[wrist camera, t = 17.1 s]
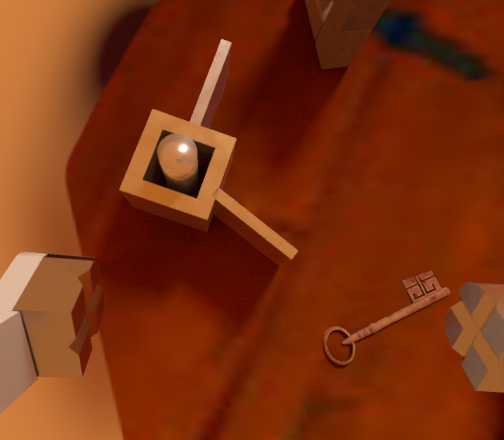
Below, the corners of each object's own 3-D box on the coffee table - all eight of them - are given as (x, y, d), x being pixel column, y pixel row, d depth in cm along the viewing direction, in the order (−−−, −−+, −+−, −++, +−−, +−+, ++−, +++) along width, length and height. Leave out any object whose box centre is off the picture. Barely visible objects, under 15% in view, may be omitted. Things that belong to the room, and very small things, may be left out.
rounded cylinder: (205, 186, 44) (205, 154, 34) (181, 205, 43) (174, 178, 33) (185, 164, 44) (179, 125, 34) (161, 183, 43) (149, 149, 34)
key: (427, 259, 46) (307, 316, 43) (431, 257, 45) (309, 316, 42) (454, 308, 45) (333, 370, 42) (459, 307, 44) (336, 371, 41)
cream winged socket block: (280, 267, 43) (295, 260, 36) (129, 215, 42) (115, 199, 36) (327, 116, 47) (348, 84, 40) (189, 66, 46) (186, 26, 39)
